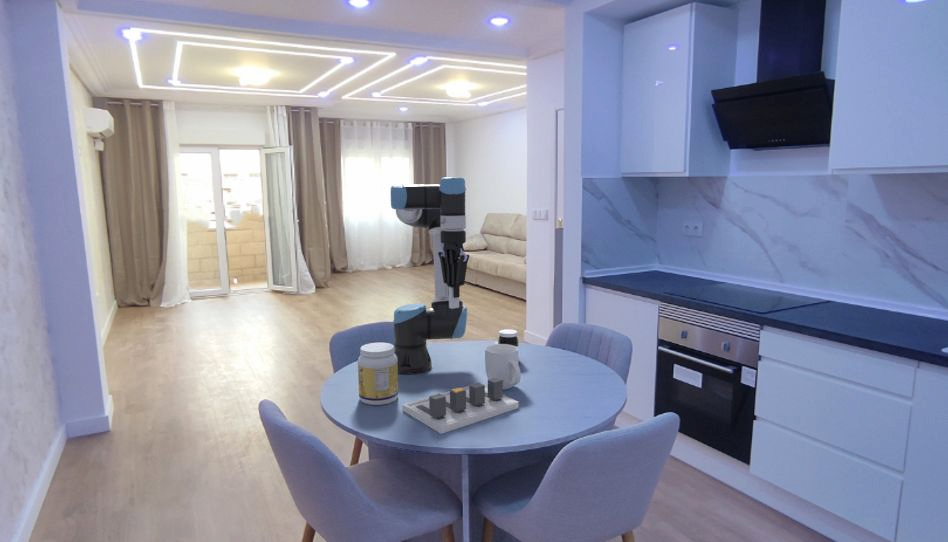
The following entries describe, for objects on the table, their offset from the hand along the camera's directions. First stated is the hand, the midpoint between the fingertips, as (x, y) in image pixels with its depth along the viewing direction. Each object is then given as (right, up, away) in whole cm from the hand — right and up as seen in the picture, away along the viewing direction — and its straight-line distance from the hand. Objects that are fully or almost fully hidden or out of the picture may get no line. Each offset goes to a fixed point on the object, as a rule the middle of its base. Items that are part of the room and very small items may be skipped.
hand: (454, 307), depth 167 cm
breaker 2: (+1, -28, -9) cm, 30 cm away
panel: (+2, -30, -3) cm, 30 cm away
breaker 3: (+7, -28, -5) cm, 29 cm away
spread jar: (+17, -23, +44) cm, 53 cm away
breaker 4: (+12, -27, 0) cm, 30 cm away
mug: (+16, -28, +15) cm, 35 cm away
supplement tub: (-24, -29, +6) cm, 38 cm away
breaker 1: (-4, -29, -13) cm, 32 cm away
